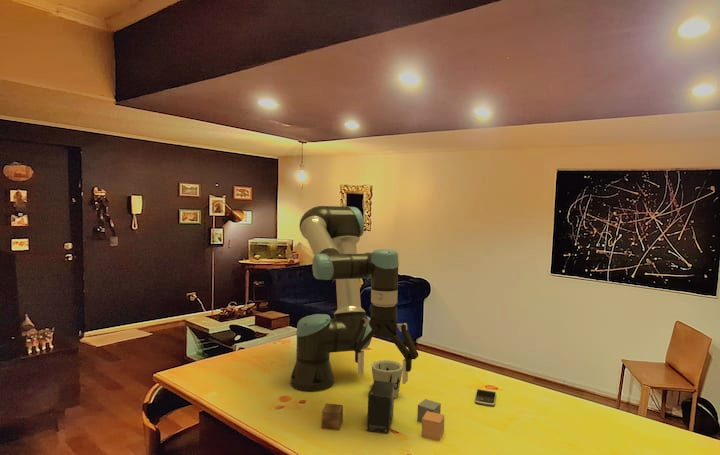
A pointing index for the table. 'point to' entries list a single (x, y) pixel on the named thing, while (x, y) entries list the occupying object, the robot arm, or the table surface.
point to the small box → (380, 406)
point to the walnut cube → (332, 416)
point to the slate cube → (427, 408)
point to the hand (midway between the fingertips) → (382, 378)
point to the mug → (388, 373)
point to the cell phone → (485, 397)
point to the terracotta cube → (433, 425)
